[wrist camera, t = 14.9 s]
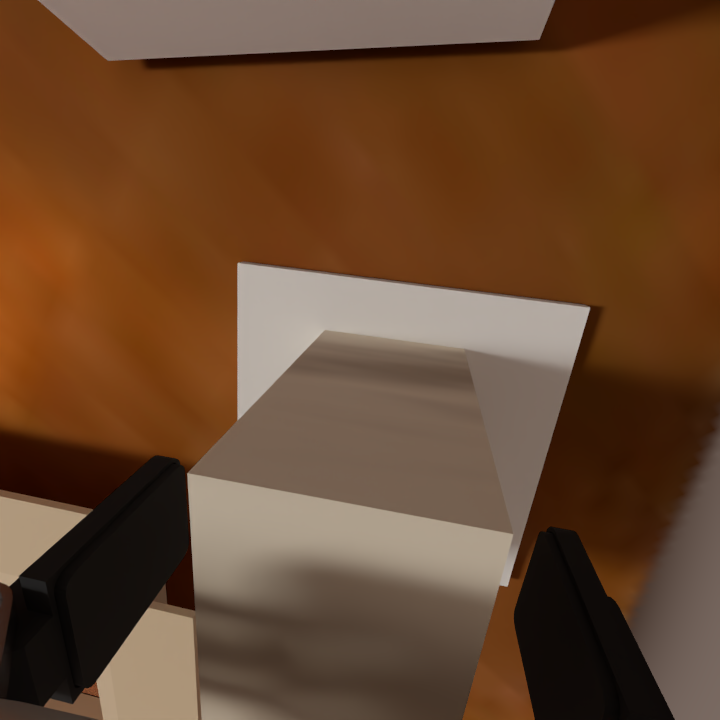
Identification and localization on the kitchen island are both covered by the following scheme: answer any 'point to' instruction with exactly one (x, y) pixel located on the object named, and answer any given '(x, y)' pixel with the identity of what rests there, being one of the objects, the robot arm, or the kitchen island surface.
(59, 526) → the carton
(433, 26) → the bracket
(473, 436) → the birch box
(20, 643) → the robot arm
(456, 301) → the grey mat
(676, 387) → the kitchen island surface
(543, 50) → the kitchen island surface
